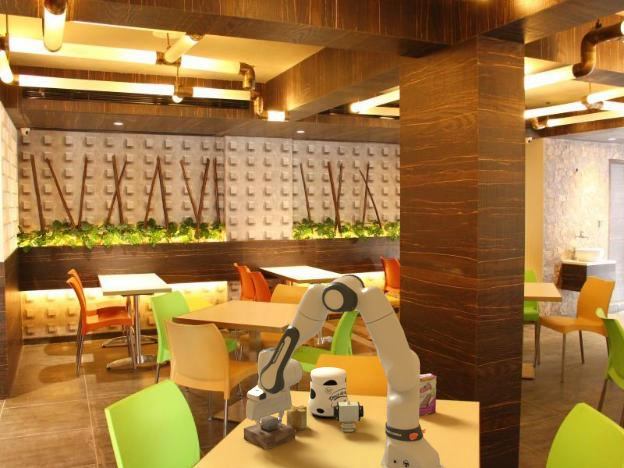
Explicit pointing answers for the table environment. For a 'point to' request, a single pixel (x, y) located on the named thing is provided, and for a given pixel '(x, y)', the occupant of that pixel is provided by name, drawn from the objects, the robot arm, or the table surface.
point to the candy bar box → (427, 394)
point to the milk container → (327, 390)
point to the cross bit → (297, 417)
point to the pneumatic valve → (348, 414)
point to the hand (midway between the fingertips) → (269, 425)
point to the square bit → (269, 423)
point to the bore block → (269, 435)
